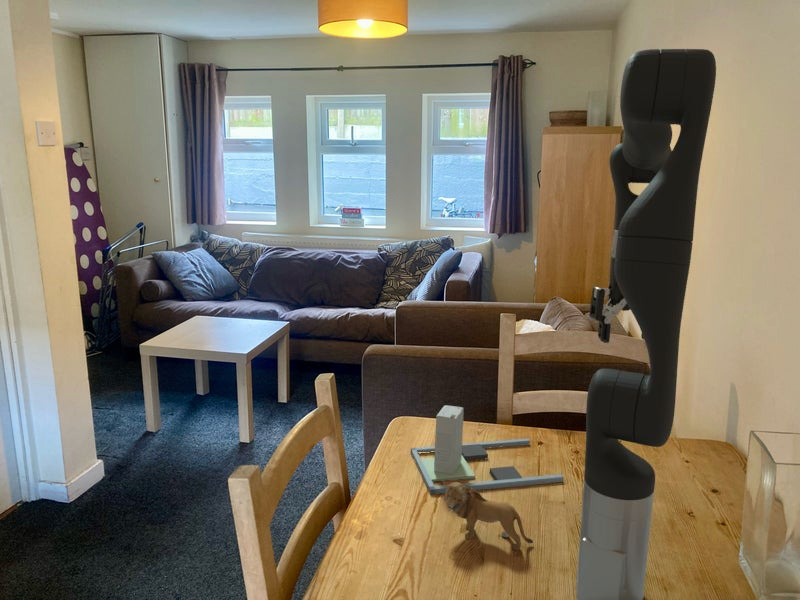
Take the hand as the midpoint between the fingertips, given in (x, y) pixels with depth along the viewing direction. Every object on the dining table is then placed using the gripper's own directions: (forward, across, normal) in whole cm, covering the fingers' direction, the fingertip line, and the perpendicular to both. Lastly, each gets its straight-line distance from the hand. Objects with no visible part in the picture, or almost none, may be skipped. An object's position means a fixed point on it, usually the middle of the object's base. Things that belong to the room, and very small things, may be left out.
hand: (625, 340), depth 119 cm
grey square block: (+28, -21, +4) cm, 35 cm away
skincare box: (+28, -31, +9) cm, 43 cm away
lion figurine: (+28, -32, -15) cm, 45 cm away
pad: (+28, -31, +9) cm, 43 cm away
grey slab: (+28, -24, +15) cm, 40 cm away
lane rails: (+28, -23, +9) cm, 38 cm away
